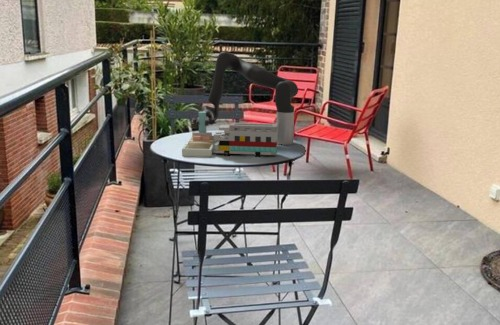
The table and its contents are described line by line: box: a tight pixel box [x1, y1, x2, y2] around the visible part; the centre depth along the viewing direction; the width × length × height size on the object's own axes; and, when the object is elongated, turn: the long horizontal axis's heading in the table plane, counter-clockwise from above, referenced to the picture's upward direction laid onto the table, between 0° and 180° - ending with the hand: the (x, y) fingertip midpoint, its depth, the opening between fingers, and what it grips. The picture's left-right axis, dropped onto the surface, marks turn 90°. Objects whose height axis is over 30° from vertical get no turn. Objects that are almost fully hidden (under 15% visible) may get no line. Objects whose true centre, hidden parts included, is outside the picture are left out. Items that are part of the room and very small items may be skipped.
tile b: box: [193, 135, 202, 141], centre depth 253 cm, size 4×4×2 cm
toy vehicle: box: [213, 122, 278, 158], centre depth 239 cm, size 8×30×15 cm, turn 84°
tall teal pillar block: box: [191, 111, 213, 138], centre depth 256 cm, size 5×10×13 cm, turn 88°
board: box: [187, 135, 217, 149], centre depth 256 cm, size 18×12×4 cm, turn 178°
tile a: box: [201, 135, 210, 141], centre depth 253 cm, size 4×4×2 cm
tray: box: [181, 143, 214, 158], centre depth 241 cm, size 11×14×3 cm
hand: (201, 123), depth 253 cm, fingers closed on tall teal pillar block, 3 cm apart
